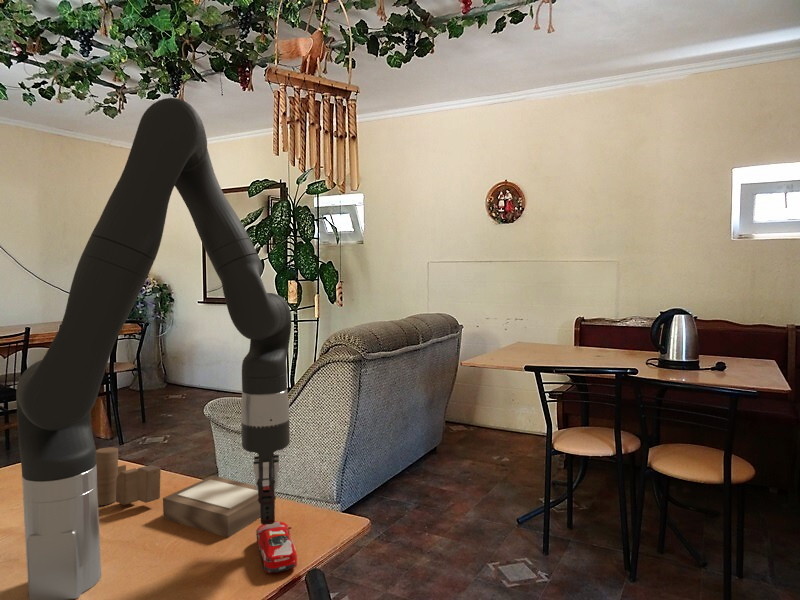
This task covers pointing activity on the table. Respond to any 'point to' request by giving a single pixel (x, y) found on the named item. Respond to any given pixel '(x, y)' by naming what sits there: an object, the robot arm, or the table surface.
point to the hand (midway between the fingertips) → (267, 522)
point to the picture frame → (214, 506)
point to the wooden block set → (124, 480)
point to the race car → (276, 547)
